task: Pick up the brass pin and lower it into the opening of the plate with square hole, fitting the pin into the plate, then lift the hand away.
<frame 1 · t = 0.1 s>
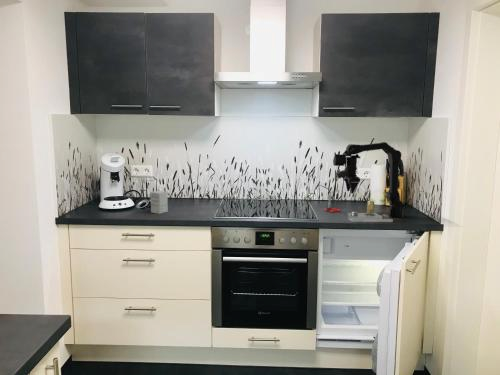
hand: (350, 192, 238), 15 cm above the worktop, tool pointing down, fingers open, 9 cm apart
plate with square hole: (369, 219, 232), on the worktop
brass pin: (370, 216, 242), on the worktop
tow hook: (332, 211, 256), on the worktop
supplement box: (159, 212, 247), on the worktop
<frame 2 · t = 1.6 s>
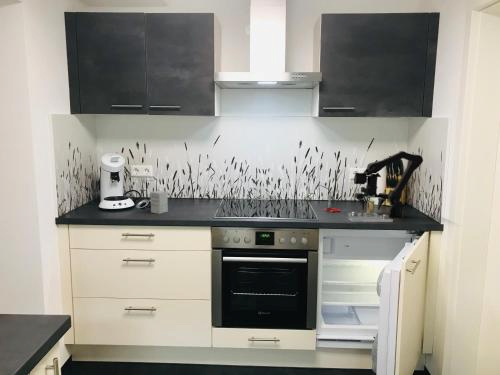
hand: (370, 210, 241), 4 cm above the worktop, tool pointing down, fingers open, 9 cm apart
nothing on the worktop moved.
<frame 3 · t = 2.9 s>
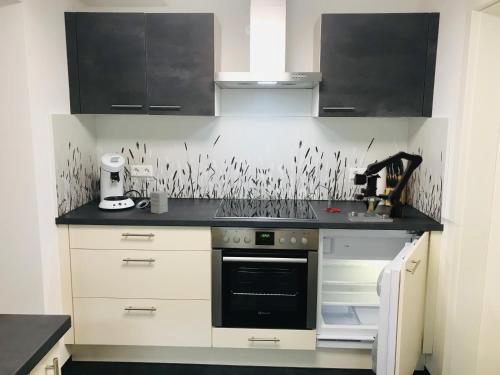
hand: (370, 211, 241), 3 cm above the worktop, tool pointing down, fingers closed on brass pin, 4 cm apart
brass pin: (370, 216, 242), on the worktop, touching gripper
everything else where it was.
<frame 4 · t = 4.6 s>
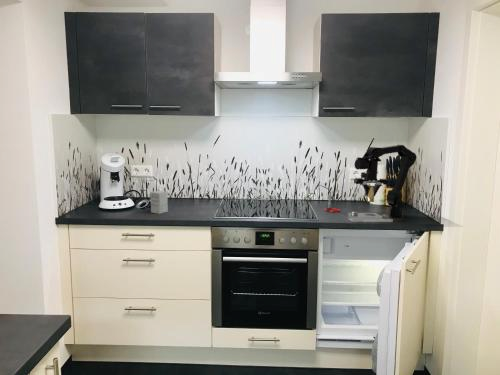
hand: (370, 196, 233), 13 cm above the worktop, tool pointing down, fingers closed on brass pin, 4 cm apart
brass pin: (370, 201, 234), point 10 cm above the worktop, touching gripper
everything else where it was.
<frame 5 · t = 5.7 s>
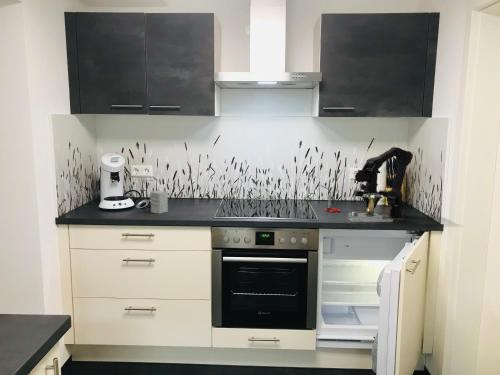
hand: (370, 208, 231), 7 cm above the worktop, tool pointing down, fingers closed on brass pin, 4 cm apart
brass pin: (370, 213, 231), point 4 cm above the worktop, touching gripper
everything else where it was.
when the fingers open (5 cm above the worktop, at t = 6.3 s): brass pin drops 2 cm, resting in plate with square hole.
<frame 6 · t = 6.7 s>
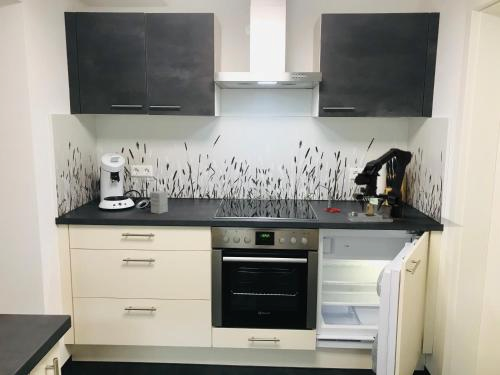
hand: (370, 211, 231), 5 cm above the worktop, tool pointing down, fingers open, 8 cm apart
brass pin: (369, 219, 232), resting in plate with square hole
everything else where it was.
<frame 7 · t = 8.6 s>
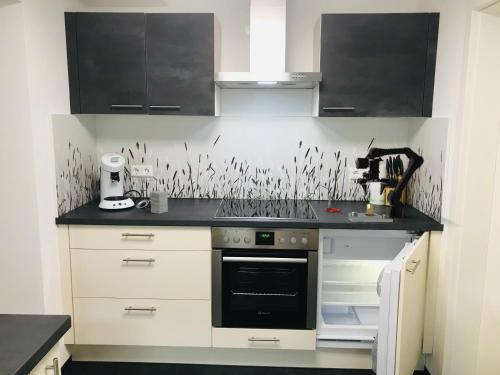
hand: (373, 195, 239), 13 cm above the worktop, tool pointing down, fingers open, 9 cm apart
nothing on the worktop moved.
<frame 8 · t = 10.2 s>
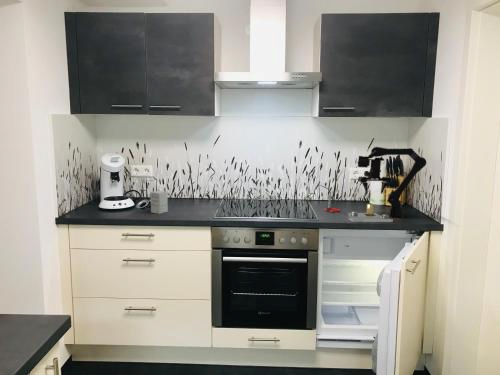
hand: (374, 193, 244), 13 cm above the worktop, tool pointing down, fingers open, 9 cm apart
nothing on the worktop moved.
at the end: brass pin 0.1 cm off-centre on the plate with square hole, point 0.0 cm above the plate with square hole's base; brass pin tilted 0°; the gripper is holding nothing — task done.
